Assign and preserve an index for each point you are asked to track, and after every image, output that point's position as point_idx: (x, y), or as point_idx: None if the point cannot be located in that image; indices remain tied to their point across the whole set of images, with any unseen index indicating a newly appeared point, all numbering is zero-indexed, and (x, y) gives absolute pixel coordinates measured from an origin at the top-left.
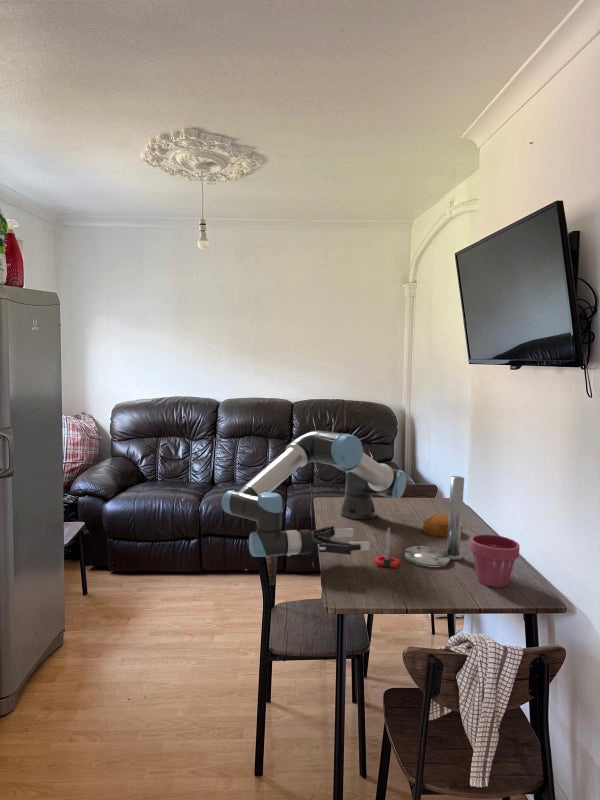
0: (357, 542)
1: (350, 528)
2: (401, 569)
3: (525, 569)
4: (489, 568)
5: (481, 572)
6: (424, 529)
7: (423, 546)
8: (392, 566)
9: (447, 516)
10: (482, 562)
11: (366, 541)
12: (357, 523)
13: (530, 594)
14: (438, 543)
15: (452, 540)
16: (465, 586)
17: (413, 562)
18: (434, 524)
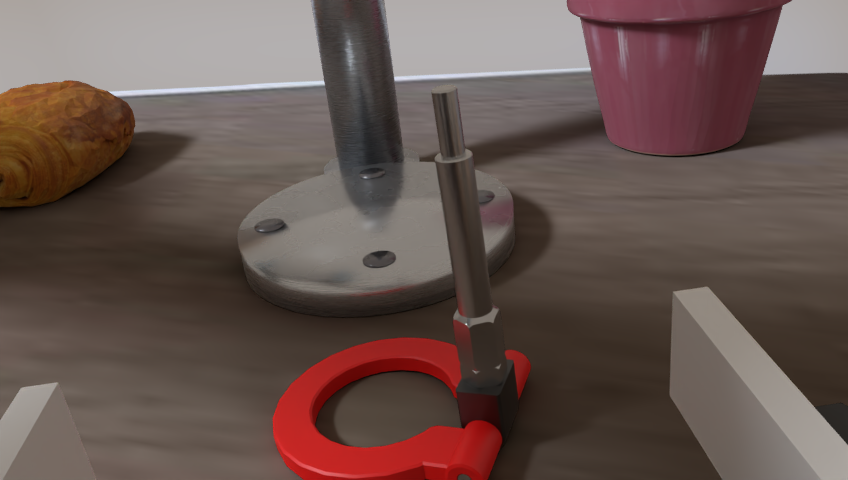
0: (810, 409)
1: (23, 412)
2: (551, 361)
3: (530, 84)
4: (763, 55)
5: (728, 99)
6: (12, 188)
7: (257, 211)
8: (520, 392)
9: (39, 85)
10: (749, 42)
11: (704, 311)
12: None
13: (785, 94)
14: (175, 193)
15: (386, 86)
16: (775, 188)
17: (450, 287)
18: (53, 133)
